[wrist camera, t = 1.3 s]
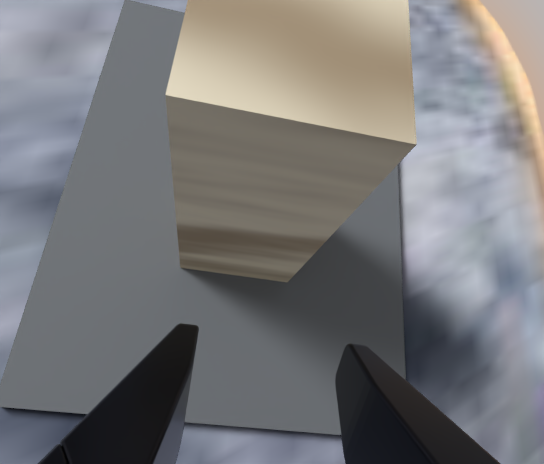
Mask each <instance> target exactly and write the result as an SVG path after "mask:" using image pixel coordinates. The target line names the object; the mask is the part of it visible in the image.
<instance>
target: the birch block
mask: <svg viewBox="0 0 544 464" xmlns="http://www.w3.org/2000/svg"><path fill="white" fill-rule="evenodd" d="M165 97H166V108H167V120H168V132H169V143H170V155H171V166H172V178H173V189H174V201H175V213H176V224H177V236H178V247H179V259H180V268H186V269H193V270H200V271H208V272H215V273H222V274H229V275H237V276H244V277H251V278H259V279H266V280H273V281H281V282H288V281H289V280H290V279H291V278H292V277H293V276H294V275H295V274H296V273H297V272H298V271H299V270H300V269H301V267H302V266H303V265H304V264H305V263H306V262H307V261H308V260H309V259H310V258H311V257H312V256H313V255H314V254H315V252H316V251H317V250H318V249H319V248H320V247H321V246H322V245H323V244H324V243H325V242H326V241H327V240H328V239H329V238H330V236H331V235H332V234H333V233H334V232H335V231H336V230H337V229H338V228H339V227H340V226H341V225H342V224H343V223H344V221H345V220H346V219H347V218H348V217H349V216H350V215H351V214H352V213H353V212H354V211H355V210H356V209H357V208H358V207H359V205H360V204H361V203H362V202H363V201H364V200H365V199H366V198H367V197H368V196H369V195H370V194H371V193H372V192H373V190H374V189H375V188H376V187H377V186H378V185H379V184H380V183H381V182H382V181H383V180H384V179H385V178H386V177H387V176H388V174H389V173H390V172H391V171H392V170H393V169H394V168H395V167H396V166H397V165H398V164H399V163H400V162H401V161H402V159H403V158H404V157H405V156H406V155H407V154H408V153H409V152H410V151H411V150H412V149H413V148H414V147H415V146H416V145H417V144H416V127H415V110H414V93H413V76H412V59H411V42H410V25H409V7H408V0H188V2H187V6H186V11H185V15H184V19H183V23H182V27H181V31H180V36H179V40H178V44H177V48H176V52H175V57H174V61H173V65H172V69H171V73H170V78H169V82H168V86H167V90H166V94H165Z"/></svg>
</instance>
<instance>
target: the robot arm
mask: <svg viewBox="0 0 544 464" xmlns="http://www.w3.org/2000/svg"><path fill="white" fill-rule="evenodd" d="M198 332H199V327H198V326H197V325H192V324H184V323H179V324H177V325H176V326H175V327H174V328H173V329H172V330H171V331H170V332H169V333H168V334H167V335H166V336H165V337H164V338H163V339H162V340H161V341H160V342H159V343H158V344H157V345H156V346H155V347H154V348H153V349H152V350H151V351H150V352H149V353H148V354H147V355H146V356H145V357H144V358H143V359H142V360H141V361H140V362H139V363H138V364H137V365H136V366H135V367H134V368H133V369H132V370H131V371H130V372H129V373H128V374H127V375H126V376H125V377H124V378H123V379H122V380H121V381H120V382H119V383H118V384H117V385H116V386H115V387H114V388H113V389H112V390H111V391H110V392H109V393H108V394H107V395H106V396H105V397H104V398H103V399H102V400H101V401H100V402H99V403H98V404H97V405H96V406H95V407H94V408H93V409H92V410H91V411H90V412H89V413H88V414H87V415H86V416H85V417H84V418H83V419H82V420H81V421H80V422H79V423H78V424H77V425H76V426H75V427H74V428H73V429H72V430H71V431H70V432H69V433H68V434H67V435H66V436H65V437H64V438H63V439H62V440H61V442H60V444H58V445H56V446H55V447H54V448H53V449H52V450H51V451H50V452H49V453H48V454H47V455H46V456H45V457H44V458H43V459H42V460H41V461H40V462H39V463H38V464H175V463H176V460H177V456H178V452H179V448H180V444H181V439H182V434H183V429H184V422H185V416H186V409H187V403H188V397H189V390H190V384H191V377H192V371H193V365H194V358H195V352H196V345H197V339H198ZM335 387H336V395H337V403H338V412H339V420H340V428H341V437H342V445H343V452H344V458H345V463H346V464H500V463H499V462H498V461H497V460H496V459H495V458H493V457H492V456H491V455H490V454H489V453H488V452H487V451H485V450H484V449H483V448H482V447H481V446H480V445H479V444H478V443H476V442H475V441H474V440H473V439H472V438H471V437H470V436H469V435H467V434H466V433H465V432H464V431H463V430H462V429H461V428H459V427H458V426H457V425H456V424H455V423H454V422H453V421H452V420H450V419H449V418H448V417H447V416H446V415H445V414H444V413H442V412H441V411H440V410H439V409H438V408H437V407H436V406H435V405H433V404H432V403H431V402H430V401H429V400H428V399H427V398H426V397H424V396H423V395H422V394H421V393H420V392H419V391H418V390H416V389H415V388H414V387H413V386H412V385H411V384H410V383H409V382H407V381H406V380H405V379H404V378H403V377H402V376H401V375H399V374H398V373H397V372H396V371H395V370H394V369H393V368H392V367H390V366H389V365H388V364H387V363H386V362H385V361H384V360H383V359H381V358H380V357H379V356H378V355H377V354H376V353H375V352H373V351H372V350H371V349H370V348H369V347H368V346H366V345H361V344H352V343H349V344H347V345H346V346H345V348H344V351H343V354H342V357H341V360H340V363H339V366H338V369H337V372H336V376H335Z"/></svg>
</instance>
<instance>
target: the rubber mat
mask: <svg viewBox="0 0 544 464" xmlns="http://www.w3.org/2000/svg"><path fill="white" fill-rule="evenodd" d="M184 15H185V13H183V12H178V11H174V10H170V9H165V8H161V7H157V6H152V5H148V4H143V3H139V2H135V1H130V0H125V1H124V4H123V7H122V10H121V13H120V17H119V20H118V23H117V26H116V29H115V32H114V35H113V38H112V41H111V44H110V47H109V50H108V54H107V57H106V60H105V63H104V66H103V69H102V72H101V75H100V78H99V81H98V84H97V87H96V91H95V94H94V97H93V100H92V103H91V106H90V109H89V112H88V115H87V118H86V121H85V124H84V128H83V131H82V134H81V137H80V140H79V143H78V146H77V149H76V152H75V155H74V158H73V161H72V165H71V168H70V171H69V174H68V177H67V180H66V183H65V186H64V189H63V192H62V195H61V198H60V202H59V205H58V208H57V211H56V214H55V217H54V220H53V223H52V226H51V229H50V232H49V235H48V239H47V242H46V245H45V248H44V251H43V254H42V257H41V260H40V263H39V266H38V269H37V272H36V276H35V279H34V282H33V285H32V288H31V291H30V294H29V297H28V300H27V303H26V306H25V309H24V313H23V316H22V319H21V322H20V325H19V328H18V331H17V334H16V337H15V340H14V343H13V346H12V350H11V353H10V356H9V359H8V362H7V365H6V368H5V371H4V374H3V377H2V380H1V383H0V407H7V408H19V409H31V410H43V411H55V412H67V413H80V414H88V413H89V412H90V411H91V410H92V409H93V408H94V407H95V406H96V405H97V404H98V403H99V402H100V401H101V400H102V399H103V398H104V397H105V396H106V395H107V394H108V393H109V392H110V391H111V390H112V389H113V388H114V387H115V386H116V385H117V384H118V383H119V382H120V381H121V380H122V379H123V378H124V377H125V376H126V375H127V374H128V373H129V372H130V371H131V370H132V369H133V368H134V367H135V366H136V365H137V364H138V363H139V362H140V361H141V360H142V359H143V358H144V357H145V356H146V355H147V354H148V353H149V352H150V351H151V350H152V349H153V348H154V347H155V346H156V345H157V344H158V343H159V342H160V341H161V340H162V339H163V338H164V337H165V336H166V335H167V334H168V333H169V332H170V331H171V330H172V329H173V328H174V327H175V326H176V325H177V324H179V323H184V324H192V325H197V326H198V327H199V332H198V339H197V345H196V352H195V358H194V365H193V371H192V377H191V384H190V390H189V397H188V403H187V409H186V416H185V422H189V423H201V424H213V425H225V426H237V427H249V428H261V429H274V430H286V431H298V432H310V433H322V434H334V435H341V428H340V420H339V412H338V403H337V395H336V387H335V376H336V372H337V369H338V366H339V363H340V360H341V357H342V354H343V351H344V348H345V346H346V345H347V344H349V343H352V344H361V345H366V346H368V347H369V348H370V349H371V350H372V351H373V352H375V353H376V354H377V355H378V356H379V357H380V358H381V359H383V360H384V361H385V362H386V363H387V364H388V365H389V366H390V367H392V368H393V369H394V370H395V371H396V372H397V373H398V374H399V375H401V376H402V377H403V378H404V379H405V380H406V374H405V346H404V319H403V292H402V264H401V237H400V210H399V182H398V165H397V166H396V167H395V168H394V169H393V170H392V171H391V172H390V173H389V174H388V176H387V177H386V178H385V179H384V180H383V181H382V182H381V183H380V184H379V185H378V186H377V187H376V188H375V189H374V190H373V192H372V193H371V194H370V195H369V196H368V197H367V198H366V199H365V200H364V201H363V202H362V203H361V204H360V205H359V207H358V208H357V209H356V210H355V211H354V212H353V213H352V214H351V215H350V216H349V217H348V218H347V219H346V220H345V221H344V223H343V224H342V225H341V226H340V227H339V228H338V229H337V230H336V231H335V232H334V233H333V234H332V235H331V236H330V238H329V239H328V240H327V241H326V242H325V243H324V244H323V245H322V246H321V247H320V248H319V249H318V250H317V251H316V252H315V254H314V255H313V256H312V257H311V258H310V259H309V260H308V261H307V262H306V263H305V264H304V265H303V266H302V267H301V269H300V270H299V271H298V272H297V273H296V274H295V275H294V276H293V277H292V278H291V279H290V280H289V281H288V282H281V281H273V280H266V279H259V278H251V277H244V276H237V275H229V274H222V273H215V272H208V271H200V270H193V269H186V268H180V259H179V247H178V236H177V224H176V213H175V201H174V189H173V178H172V166H171V155H170V143H169V132H168V120H167V108H166V97H165V94H166V90H167V86H168V82H169V78H170V73H171V69H172V65H173V61H174V57H175V52H176V48H177V44H178V40H179V36H180V31H181V27H182V23H183V19H184Z"/></svg>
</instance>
